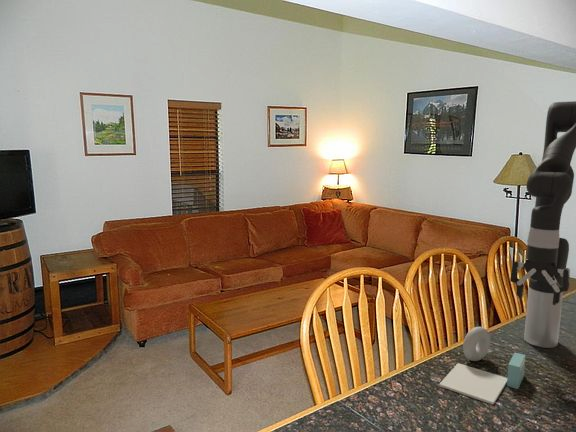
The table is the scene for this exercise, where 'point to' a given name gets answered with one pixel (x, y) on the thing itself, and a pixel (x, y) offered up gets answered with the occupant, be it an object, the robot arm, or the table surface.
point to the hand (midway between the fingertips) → (537, 301)
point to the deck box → (516, 370)
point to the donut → (476, 343)
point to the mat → (474, 383)
